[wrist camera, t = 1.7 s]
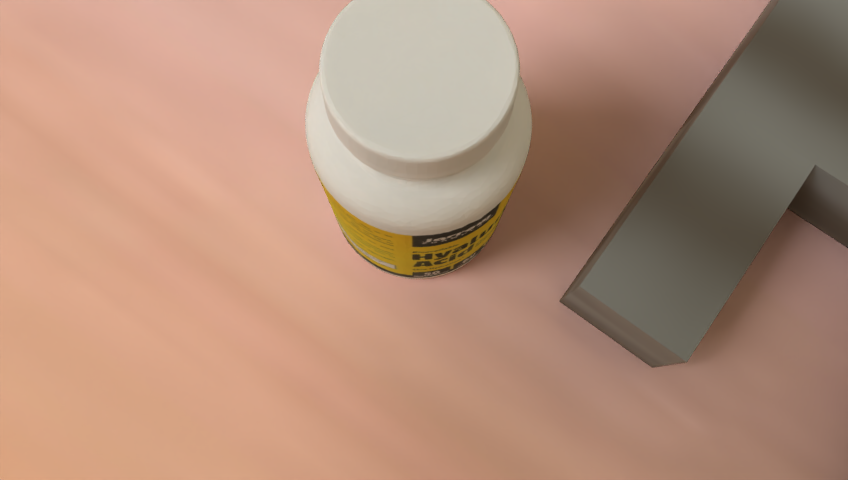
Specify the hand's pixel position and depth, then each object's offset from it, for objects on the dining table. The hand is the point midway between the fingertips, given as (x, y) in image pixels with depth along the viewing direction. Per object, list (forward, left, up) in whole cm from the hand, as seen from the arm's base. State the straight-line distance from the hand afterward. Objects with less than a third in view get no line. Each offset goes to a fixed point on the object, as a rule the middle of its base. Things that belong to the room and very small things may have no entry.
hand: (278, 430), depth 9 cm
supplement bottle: (+4, -5, -13) cm, 15 cm away
